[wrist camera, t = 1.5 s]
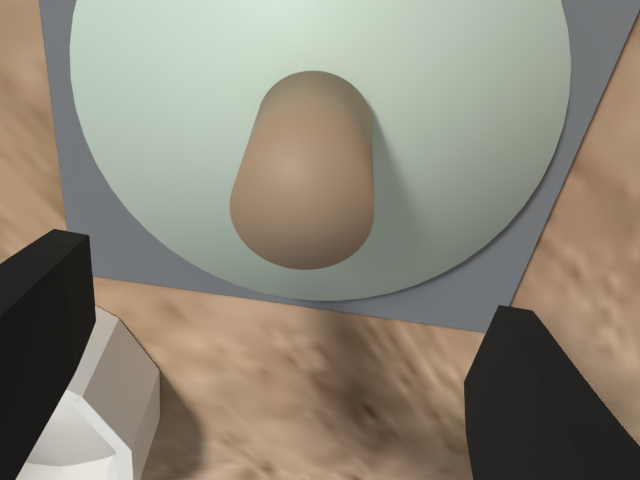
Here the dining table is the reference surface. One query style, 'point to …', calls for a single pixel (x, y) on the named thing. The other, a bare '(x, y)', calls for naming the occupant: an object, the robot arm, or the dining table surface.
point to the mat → (406, 305)
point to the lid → (322, 130)
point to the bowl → (101, 412)
